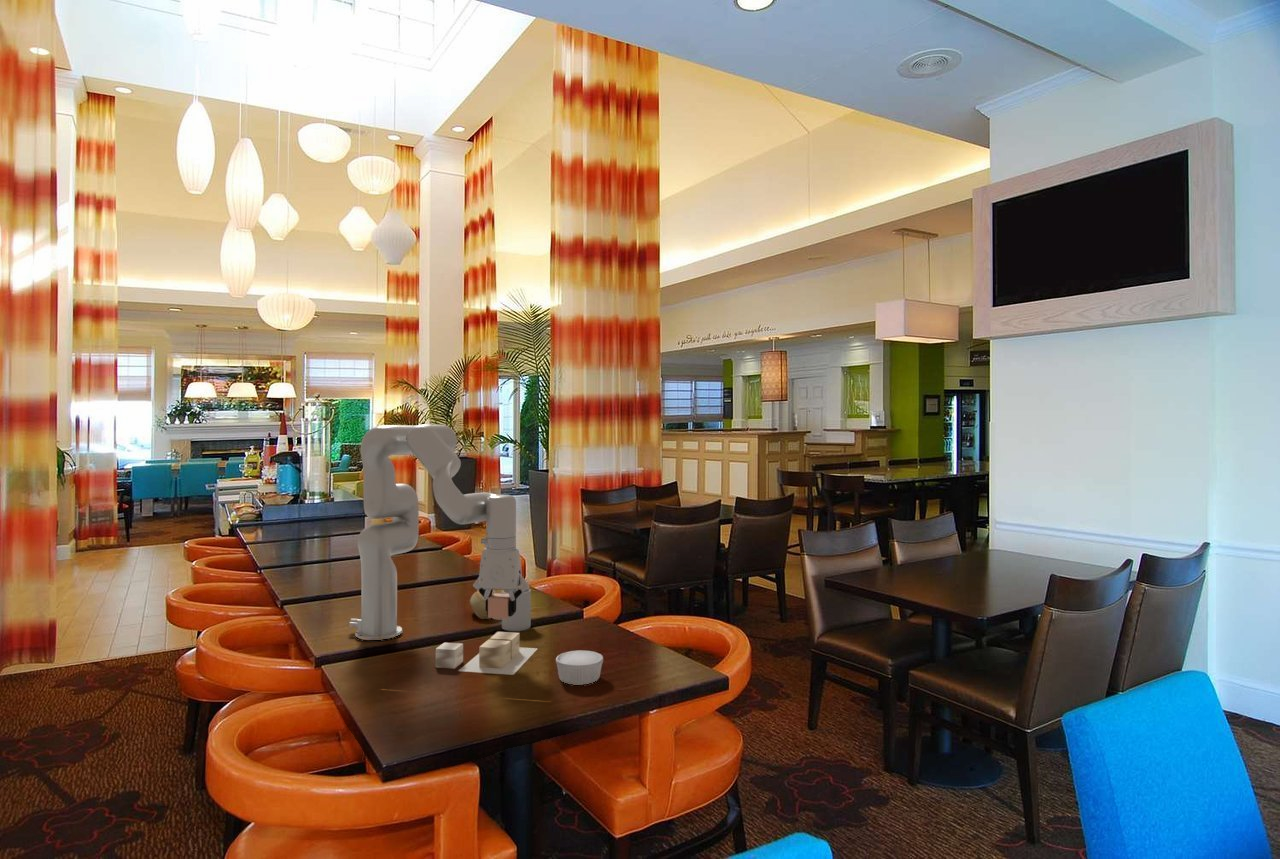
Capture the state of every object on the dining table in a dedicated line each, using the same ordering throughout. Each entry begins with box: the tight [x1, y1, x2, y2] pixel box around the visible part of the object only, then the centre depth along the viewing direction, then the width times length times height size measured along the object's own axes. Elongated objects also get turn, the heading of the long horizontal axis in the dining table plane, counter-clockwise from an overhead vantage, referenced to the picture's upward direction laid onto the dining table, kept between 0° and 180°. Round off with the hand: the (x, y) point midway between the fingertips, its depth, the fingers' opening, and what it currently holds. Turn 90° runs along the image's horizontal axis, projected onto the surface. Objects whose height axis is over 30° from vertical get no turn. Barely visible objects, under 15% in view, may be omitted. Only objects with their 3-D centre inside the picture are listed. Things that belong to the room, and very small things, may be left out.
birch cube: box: [435, 642, 464, 670], centre depth 175 cm, size 5×5×5 cm
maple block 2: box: [489, 631, 521, 659], centre depth 183 cm, size 6×6×5 cm
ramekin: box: [555, 649, 604, 686], centre depth 167 cm, size 11×11×5 cm
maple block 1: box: [478, 639, 511, 669], centre depth 176 cm, size 6×6×5 cm
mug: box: [492, 586, 532, 632], centre depth 208 cm, size 12×8×11 cm
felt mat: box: [458, 646, 539, 676], centre depth 180 cm, size 14×20×1 cm
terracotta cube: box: [488, 592, 510, 619], centre depth 179 cm, size 5×5×5 cm
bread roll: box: [469, 589, 500, 620], centre depth 222 cm, size 10×15×8 cm, turn 24°
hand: (500, 613), depth 179 cm, fingers closed on terracotta cube, 4 cm apart
